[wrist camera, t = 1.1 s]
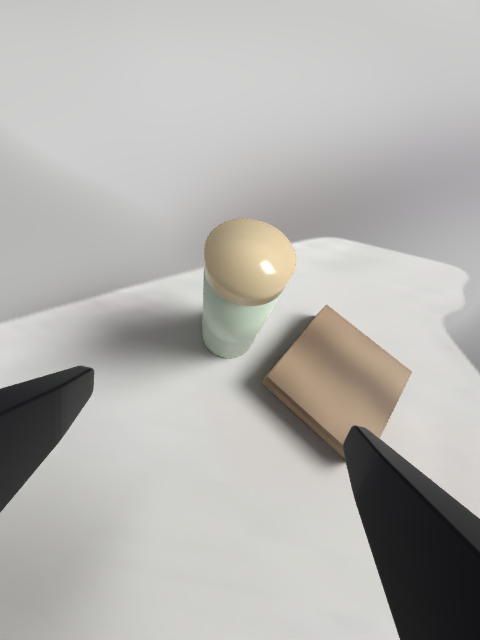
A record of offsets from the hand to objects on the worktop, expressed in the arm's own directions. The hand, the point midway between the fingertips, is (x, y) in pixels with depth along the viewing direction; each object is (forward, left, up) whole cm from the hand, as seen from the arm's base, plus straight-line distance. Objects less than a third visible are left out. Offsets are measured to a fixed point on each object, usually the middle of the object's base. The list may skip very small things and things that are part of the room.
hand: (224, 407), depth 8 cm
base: (+11, -6, -14) cm, 18 cm away
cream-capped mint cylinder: (+7, +4, -14) cm, 16 cm away
